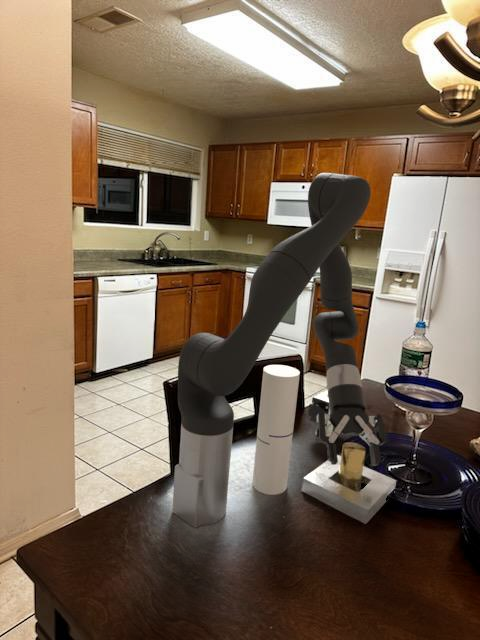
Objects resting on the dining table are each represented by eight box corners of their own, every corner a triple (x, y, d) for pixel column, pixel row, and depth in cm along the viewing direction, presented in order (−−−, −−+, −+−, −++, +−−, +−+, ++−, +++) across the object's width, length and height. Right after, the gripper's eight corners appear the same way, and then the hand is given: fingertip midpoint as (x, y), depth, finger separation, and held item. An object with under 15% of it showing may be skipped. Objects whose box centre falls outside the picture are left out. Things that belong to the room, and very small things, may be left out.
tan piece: (353, 501, 88) (359, 456, 86) (332, 491, 91) (338, 447, 89) (362, 492, 92) (369, 448, 90) (342, 482, 95) (349, 440, 92)
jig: (365, 524, 82) (367, 509, 81) (301, 491, 90) (303, 477, 90) (394, 493, 92) (396, 480, 92) (334, 466, 101) (336, 454, 100)
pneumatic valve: (341, 430, 119) (347, 389, 116) (320, 445, 110) (326, 400, 107) (323, 424, 122) (329, 383, 120) (301, 437, 113) (307, 394, 111)
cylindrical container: (284, 497, 88) (298, 379, 82) (249, 490, 89) (260, 373, 84) (288, 478, 94) (301, 367, 89) (255, 472, 96) (266, 362, 90)
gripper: (317, 380, 93) (326, 458, 85) (382, 384, 95) (397, 460, 86) (309, 394, 100) (315, 468, 91) (369, 397, 101) (382, 470, 92)
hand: (355, 464), depth 88 cm, fingers open, 8 cm apart
